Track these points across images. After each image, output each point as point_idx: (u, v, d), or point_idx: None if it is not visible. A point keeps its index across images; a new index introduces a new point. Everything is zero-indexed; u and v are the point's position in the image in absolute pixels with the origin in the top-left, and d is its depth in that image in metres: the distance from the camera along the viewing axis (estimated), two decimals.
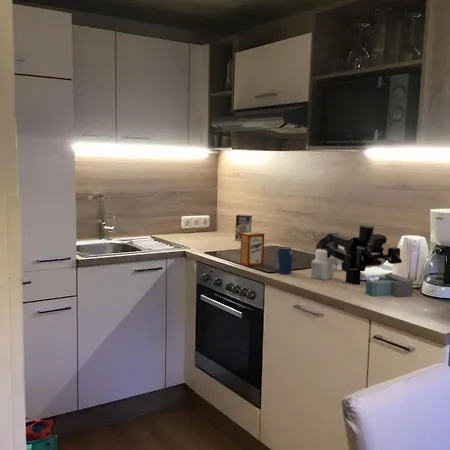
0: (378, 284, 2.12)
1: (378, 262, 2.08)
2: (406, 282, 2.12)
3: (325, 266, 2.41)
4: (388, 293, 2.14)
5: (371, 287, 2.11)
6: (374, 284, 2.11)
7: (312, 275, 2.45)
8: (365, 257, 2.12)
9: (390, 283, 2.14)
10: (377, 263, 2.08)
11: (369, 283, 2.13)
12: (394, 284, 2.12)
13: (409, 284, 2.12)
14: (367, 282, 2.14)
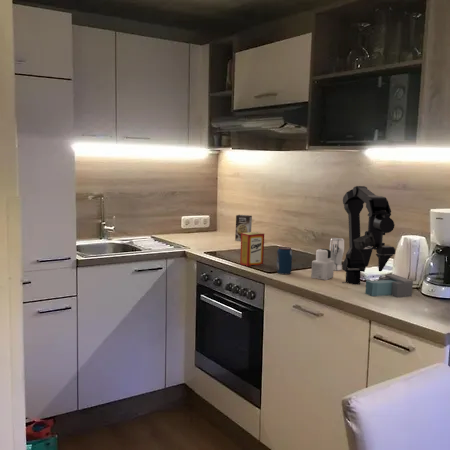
0: (378, 284, 2.12)
1: None
2: (406, 282, 2.12)
3: (325, 266, 2.41)
4: (388, 293, 2.14)
5: (371, 287, 2.11)
6: (374, 284, 2.11)
7: (312, 275, 2.45)
8: None
9: (390, 283, 2.14)
10: None
11: (369, 283, 2.13)
12: (394, 284, 2.12)
13: (409, 284, 2.12)
14: (367, 282, 2.14)
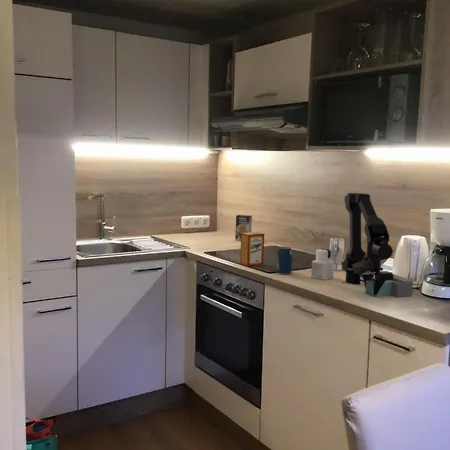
0: None
1: None
2: (406, 282, 2.12)
3: (325, 266, 2.41)
4: (388, 293, 2.14)
5: (371, 287, 2.11)
6: None
7: (312, 275, 2.45)
8: None
9: (390, 283, 2.14)
10: None
11: (369, 283, 2.13)
12: (394, 284, 2.12)
13: (409, 284, 2.12)
14: (367, 282, 2.14)
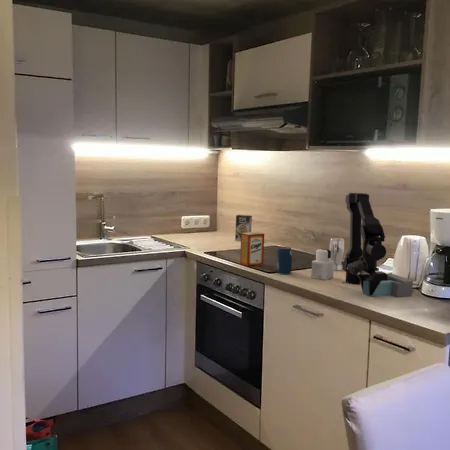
0: None
1: None
2: (406, 282, 2.12)
3: (325, 266, 2.41)
4: (386, 293, 2.14)
5: None
6: None
7: (312, 275, 2.45)
8: None
9: (388, 283, 2.13)
10: None
11: (366, 283, 2.13)
12: (394, 284, 2.12)
13: (409, 284, 2.12)
14: (364, 282, 2.14)
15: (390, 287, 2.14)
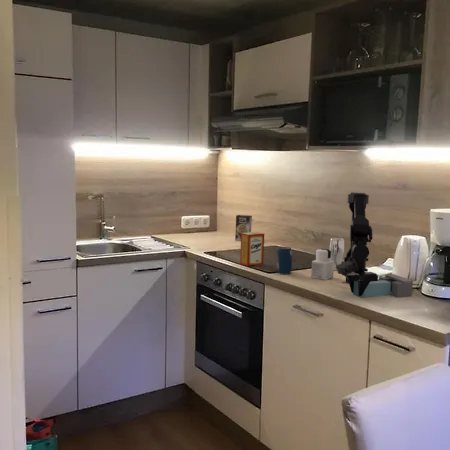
0: None
1: None
2: (406, 282, 2.12)
3: (325, 266, 2.41)
4: (376, 294, 2.12)
5: None
6: None
7: (312, 275, 2.45)
8: None
9: (378, 284, 2.12)
10: None
11: (357, 284, 2.11)
12: (394, 284, 2.12)
13: (409, 284, 2.12)
14: (355, 283, 2.12)
15: (381, 288, 2.13)
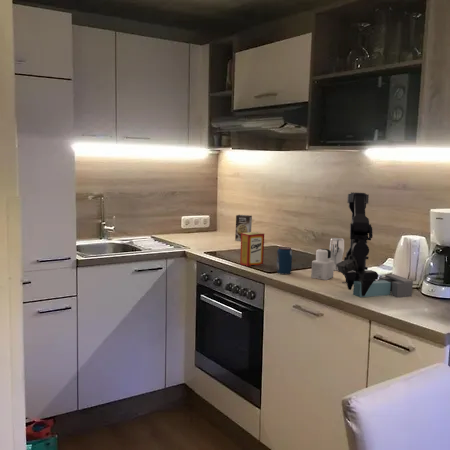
0: None
1: None
2: (406, 282, 2.12)
3: (325, 266, 2.41)
4: (376, 294, 2.12)
5: (359, 288, 2.10)
6: None
7: (312, 275, 2.45)
8: None
9: (378, 284, 2.12)
10: None
11: (357, 284, 2.11)
12: (394, 284, 2.12)
13: (409, 284, 2.12)
14: (355, 283, 2.12)
15: (380, 288, 2.13)
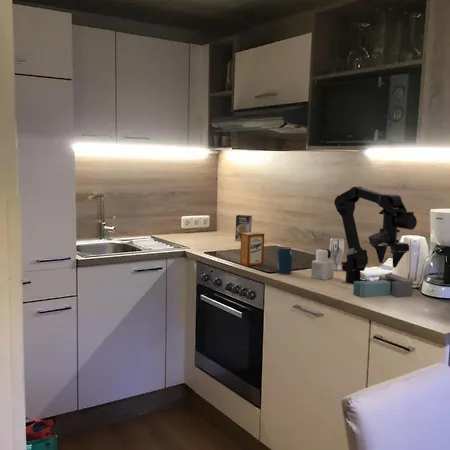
0: (366, 285, 2.10)
1: None
2: (406, 282, 2.12)
3: (325, 266, 2.41)
4: (376, 294, 2.12)
5: (359, 288, 2.10)
6: (362, 285, 2.09)
7: (312, 275, 2.45)
8: None
9: (378, 284, 2.12)
10: None
11: (357, 284, 2.11)
12: (394, 284, 2.12)
13: (409, 284, 2.12)
14: (355, 283, 2.12)
15: (380, 288, 2.13)
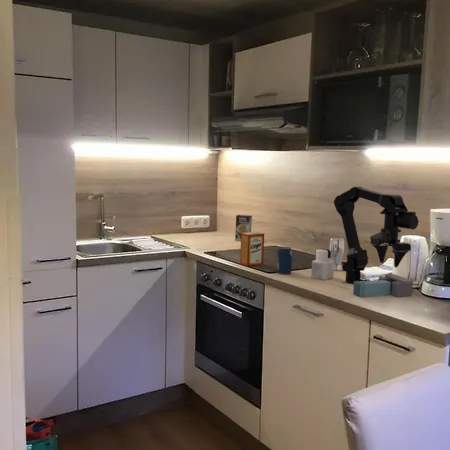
0: (366, 285, 2.10)
1: None
2: (406, 282, 2.12)
3: (325, 266, 2.41)
4: (376, 294, 2.12)
5: (359, 288, 2.10)
6: (362, 285, 2.09)
7: (312, 275, 2.45)
8: None
9: (378, 284, 2.12)
10: None
11: (357, 284, 2.11)
12: (394, 284, 2.12)
13: (409, 284, 2.12)
14: (355, 283, 2.12)
15: (380, 288, 2.13)
